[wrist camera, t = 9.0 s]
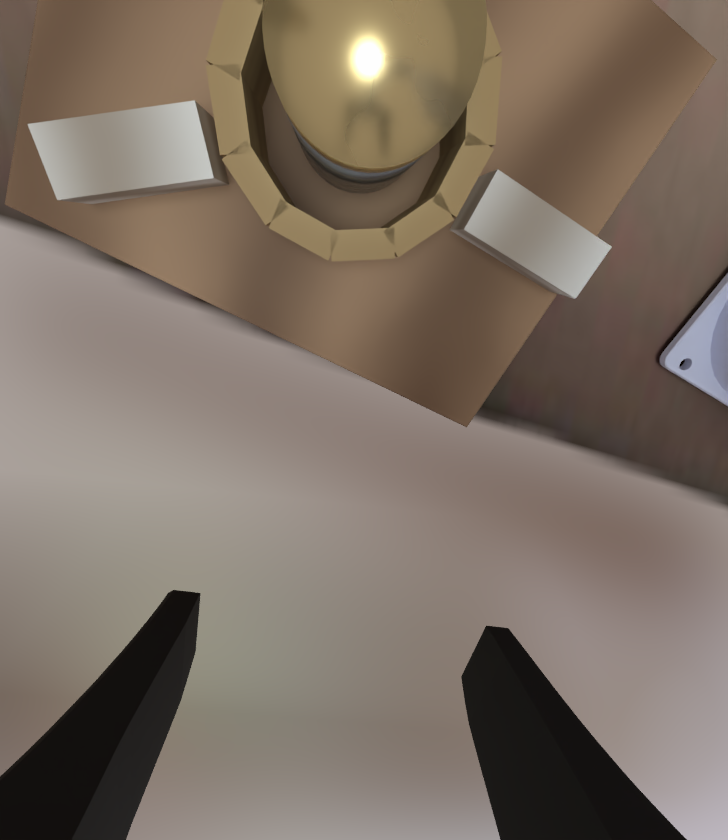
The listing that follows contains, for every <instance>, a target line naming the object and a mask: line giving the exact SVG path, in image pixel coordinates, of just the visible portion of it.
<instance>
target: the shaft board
mask: <svg viewBox="0 0 728 840" xmlns="http://www.w3.org/2000/svg"><path fill="white" fill-rule="evenodd" d="M262 6H263V0H38V3H37V9H36V15H35V21H34V28H33V34H32V40H31V46H30V52H29V58H28V65H27V71H26V77H25V83H24V89H23V95H22V102H21V108H20V114H19V120H18V126H17V132H16V139H15V145H14V151H13V157H12V163H11V169H10V176H9V182H8V188H7V194H6V200H5V205H7V206H9V207H12V208H14V209H16V210H18V211H20V212H22V213H24V214H26V215H28V216H30V217H32V218H34V219H36V220H38V221H41V222H43V223H45V224H47V225H49V226H51V227H53V228H55V229H57V230H59V231H61V232H63V233H65V234H67V235H70V236H72V237H74V238H76V239H78V240H80V241H82V242H84V243H86V244H88V245H90V246H92V247H94V248H96V249H99V250H101V251H103V252H105V253H107V254H109V255H111V256H113V257H115V258H117V259H119V260H121V261H123V262H125V263H128V264H130V265H132V266H134V267H136V268H138V269H140V270H142V271H144V272H146V273H148V274H150V275H152V276H154V277H157V278H159V279H161V280H163V281H165V282H167V283H169V284H171V285H173V286H175V287H177V288H179V289H181V290H183V291H186V292H188V293H190V294H192V295H194V296H196V297H198V298H200V299H202V300H204V301H206V302H208V303H210V304H212V305H215V306H217V307H219V308H221V309H223V310H225V311H227V312H229V313H231V314H233V315H235V316H237V317H239V318H241V319H244V320H246V321H248V322H250V323H252V324H254V325H256V326H258V327H260V328H262V329H264V330H266V331H268V332H270V333H272V334H275V335H277V336H279V337H281V338H283V339H285V340H287V341H289V342H291V343H293V344H295V345H297V346H299V347H301V348H304V349H306V350H308V351H310V352H312V353H314V354H316V355H318V356H320V357H322V358H324V359H326V360H328V361H330V362H333V363H335V364H337V365H339V366H341V367H343V368H345V369H347V370H349V371H351V372H353V373H355V374H357V375H359V376H362V377H364V378H366V379H368V380H370V381H372V382H374V383H376V384H378V385H380V386H382V387H384V388H386V389H389V390H391V391H393V392H395V393H397V394H399V395H401V396H403V397H405V398H407V399H409V400H411V401H413V402H415V403H417V404H420V405H422V406H424V407H426V408H428V409H430V410H432V411H434V412H436V413H438V414H440V415H443V416H444V417H446V418H449V419H451V420H453V421H455V422H457V423H459V424H461V425H463V426H465V427H467V426H468V425H469V423H470V422H471V420H472V419H473V417H474V416H475V414H476V413H477V411H478V410H479V408H480V407H481V405H482V404H483V403H484V401H485V400H486V398H487V397H488V395H489V394H490V392H491V391H492V389H493V388H494V386H495V385H496V383H497V382H498V380H499V379H500V378H501V376H502V375H503V373H504V372H505V370H506V369H507V367H508V366H509V364H510V363H511V361H512V360H513V358H514V357H515V355H516V354H517V353H518V351H519V350H520V348H521V347H522V345H523V344H524V342H525V341H526V339H527V338H528V336H529V335H530V333H531V332H532V331H533V329H534V328H535V326H536V325H537V323H538V322H539V320H540V319H541V317H542V316H543V314H544V313H545V311H546V310H547V308H548V307H549V306H550V304H551V303H552V301H553V300H554V298H555V297H556V295H557V294H560V295H564V296H567V297H571V298H574V299H576V297H577V296H578V294H579V293H580V292H581V290H582V289H583V287H584V286H585V284H586V283H587V282H588V280H589V279H590V277H591V276H592V274H593V273H594V272H595V270H596V269H597V267H598V266H599V264H600V263H601V262H602V260H603V259H604V257H605V256H606V254H607V253H608V252H609V250H610V249H611V246H610V245H608V244H607V243H605V242H604V241H603V240H601V239H600V238H598V237H597V235H598V234H599V232H600V231H601V229H602V228H603V226H604V225H605V223H606V222H607V220H608V219H609V217H610V216H611V214H612V213H613V211H614V210H615V209H616V207H617V206H618V204H619V203H620V201H621V200H622V198H623V197H624V195H625V194H626V192H627V191H628V189H629V188H630V187H631V185H632V184H633V182H634V181H635V179H636V178H637V176H638V175H639V173H640V172H641V170H642V169H643V167H644V166H645V164H646V163H647V162H648V160H649V159H650V157H651V156H652V154H653V153H654V151H655V150H656V148H657V147H658V145H659V144H660V142H661V141H662V139H663V138H664V137H665V135H666V134H667V132H668V131H669V129H670V128H671V126H672V125H673V123H674V122H675V120H676V119H677V117H678V116H679V114H680V113H681V112H682V110H683V109H684V107H685V106H686V104H687V103H688V101H689V100H690V98H691V97H692V95H693V94H694V92H695V91H696V90H697V88H698V87H699V85H700V84H701V82H702V81H703V79H704V78H705V76H706V75H707V73H708V72H709V70H710V69H711V67H712V66H713V65H714V63H715V62H716V60H717V59H716V58H715V57H713V56H712V55H711V54H710V53H709V52H708V51H707V50H706V49H705V48H703V47H702V46H701V45H700V44H699V43H698V42H697V41H696V40H695V39H694V38H692V37H691V36H690V35H689V34H688V33H687V32H686V31H685V30H684V29H682V28H681V27H680V26H679V25H678V24H677V23H676V22H675V21H674V20H673V19H671V18H670V17H669V16H668V15H667V14H666V13H665V12H664V11H663V10H661V9H660V8H659V7H658V6H657V5H656V4H655V3H654V2H653V1H651V0H486V12H487V31H486V44H485V50H484V56H483V62H482V66H481V70H480V73H479V77H478V80H477V83H476V85H475V88H474V90H473V93H472V96H471V98H470V100H469V102H468V103H467V105H466V107H465V109H464V111H463V113H462V114H461V116H460V117H459V119H458V120H457V122H456V123H455V125H454V126H453V127H452V128H451V129H450V130H449V132H448V133H447V134H446V135H445V136H444V137H443V138H442V139H441V140H440V141H439V142H438V143H437V144H435V145H434V146H433V147H432V148H431V149H430V150H429V151H428V152H427V153H426V154H424V155H423V156H422V157H421V158H420V159H419V160H418V161H417V162H416V163H415V164H414V165H412V166H411V167H410V168H409V169H408V170H407V171H406V172H405V173H404V174H403V175H401V176H400V177H399V178H398V179H397V180H396V181H395V182H393V183H392V184H390V185H389V186H387V187H385V188H383V189H381V190H378V191H375V192H371V193H361V194H357V193H350V192H346V191H343V190H340V189H338V188H336V187H334V186H332V185H331V184H329V183H327V182H326V181H325V180H324V179H323V178H321V177H320V176H319V175H318V174H317V172H316V171H315V170H314V169H313V168H312V166H311V165H310V164H309V162H308V160H307V158H306V157H305V155H304V152H303V150H302V148H301V146H300V143H299V141H298V139H297V137H296V134H295V132H294V130H293V128H292V125H291V123H290V121H289V118H288V116H287V114H286V112H285V109H284V107H283V105H282V103H281V100H280V98H279V96H278V93H277V91H276V89H275V86H274V84H273V81H272V78H271V75H270V71H269V68H268V64H267V59H266V55H265V50H264V42H263V32H262Z"/></svg>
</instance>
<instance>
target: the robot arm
mask: <svg viewBox="0 0 728 840" xmlns="http://www.w3.org/2000/svg"><path fill="white" fill-rule="evenodd" d="M684 359H685V362H684V364H683V365H682V366H680V363H681V361H683V360H684ZM660 364H661V365H662V366H663V367H664V368H666V369H667V370H669V371H670V372H672V373H674V374H675V375H677V376H679V377H680V378H682V379H684V380H685V381H687V382H688V383H690V384H692V385H693V386H695V387H697V388H698V389H700V390H702V391H703V392H705V393H706V394H708V395H710V396H711V397H713V398H715V399H716V400H718V401H720V402H721V403H723V404H724V405H726V406H728V273H727V274H726V276H725V277H724V278H723V279H722V280H721V282H720V283H719V284H718V285H717V287H716V288H715V289H714V290H713V291H712V293H711V294H710V295H709V296H708V298H707V299H706V300H705V301H704V302H703V304H702V305H701V306H700V307H699V308H698V310H697V311H696V312H695V313H694V315H693V316H692V317H691V318H690V319H689V321H688V322H687V323H686V324H685V326H684V327H683V328H682V329H681V330H680V332H679V333H678V334H677V335H676V337H675V338H674V339H673V340H672V341H671V343H670V344H669V345H668V346H667V347H666V349H665V350H664V351H663V353H662V354H661V356H660ZM199 603H200V593H195V592H186V591H177V590H173V591H171V592H169V593H168V594H167V596H166V597H165V599H164V600H163V601H162V602H161V604H160V605H159V607H158V608H157V609H156V610H155V612H154V613H153V614H152V616H151V617H150V618H149V619H148V621H147V622H146V623H145V624H144V626H143V627H142V628H141V629H140V631H139V632H138V633H137V634H136V636H135V637H134V638H133V639H132V640H131V641H130V643H129V644H128V645H127V646H126V647H125V648H124V650H123V651H122V652H121V653H120V654H119V655H118V656H117V657H116V659H115V660H114V661H113V662H112V663H111V664H110V665H109V666H108V668H107V669H106V670H105V671H104V672H103V673H102V674H101V676H100V677H99V678H98V679H97V680H96V681H95V682H94V683H93V684H92V685H91V687H90V688H89V689H88V690H87V691H86V692H85V693H84V694H83V695H82V696H81V697H80V698H79V699H78V700H77V701H76V702H75V703H74V704H73V705H72V706H71V707H70V708H69V709H68V710H67V711H66V713H65V714H64V715H63V716H62V717H61V718H60V719H59V720H58V721H57V722H56V723H55V724H54V725H53V726H52V727H51V728H50V729H49V730H48V731H47V732H46V733H45V734H44V735H43V736H42V737H41V738H40V739H39V740H38V741H37V742H36V743H35V744H34V745H33V746H32V747H31V748H30V749H29V750H28V751H27V752H26V753H25V754H24V755H23V756H22V757H21V758H19V760H17V761H16V762H15V763H14V764H13V765H12V766H11V767H10V768H9V769H8V770H7V771H6V772H5V773H4V774H3V775H1V776H0V840H126V838H127V835H128V832H129V829H130V827H131V824H132V822H133V819H134V816H135V814H136V811H137V809H138V807H139V804H140V802H141V799H142V796H143V794H144V792H145V789H146V787H147V784H148V782H149V779H150V777H151V774H152V771H153V769H154V767H155V764H156V761H157V759H158V756H159V754H160V751H161V749H162V747H163V744H164V741H165V739H166V737H167V734H168V731H169V729H170V726H171V724H172V721H173V719H174V716H175V714H176V711H177V709H178V706H179V704H180V701H181V698H182V695H183V691H184V688H185V685H186V682H187V678H188V675H189V672H190V668H191V665H192V661H193V658H194V655H195V650H196V637H197V627H198V614H199ZM462 684H463V691H464V698H465V704H466V710H467V715H468V721H469V725H470V729H471V733H472V737H473V740H474V744H475V748H476V752H477V755H478V759H479V763H480V767H481V770H482V774H483V777H484V781H485V785H486V788H487V792H488V796H489V799H490V803H491V807H492V810H493V814H494V817H495V820H496V825H497V828H498V832H499V836H500V839H501V840H686V839H685V838H684V837H683V836H682V835H681V834H680V832H679V831H678V830H677V829H675V827H674V826H673V825H672V824H671V823H670V822H669V821H668V820H667V819H666V818H665V817H664V816H663V815H662V814H661V812H660V811H658V809H657V808H656V807H655V806H654V805H653V804H652V803H651V802H650V801H649V800H648V799H647V798H646V797H645V795H644V794H643V793H642V792H641V791H640V790H639V789H638V788H637V787H636V786H635V785H634V783H633V782H632V781H631V780H630V779H629V778H628V777H627V776H626V774H625V773H624V772H623V771H622V770H621V769H620V768H619V766H618V765H617V764H616V763H615V762H614V761H613V759H612V758H611V757H610V756H609V755H608V754H607V752H606V751H605V750H604V749H603V748H602V747H601V745H600V744H599V743H598V742H597V741H596V740H595V738H594V737H593V736H592V735H591V733H590V732H589V731H588V730H587V729H586V727H585V726H584V725H583V724H582V723H581V721H580V720H579V719H578V718H577V716H576V715H575V714H574V713H573V711H572V710H571V709H570V707H569V706H568V705H567V704H566V703H565V701H564V700H563V699H562V697H561V696H560V695H559V694H558V692H557V691H556V690H555V688H554V687H553V686H552V685H551V683H550V682H549V681H548V679H547V678H546V677H545V675H544V674H543V673H542V672H541V670H540V669H539V668H538V666H537V665H536V664H535V662H534V661H533V660H532V658H531V657H530V656H529V654H528V653H527V652H526V651H525V649H524V648H523V647H522V645H521V644H520V643H519V642H518V640H517V639H516V638H515V636H514V635H513V634H512V633H511V631H510V630H509V629H508V628H501V627H492V626H486V627H485V629H484V632H483V634H482V636H481V638H480V640H479V642H478V644H477V646H476V648H475V650H474V652H473V654H472V656H471V658H470V660H469V662H468V664H467V666H466V668H465V670H464V673H463V675H462Z"/></svg>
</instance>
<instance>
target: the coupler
mask: <svg viewBox="0 0 728 840" xmlns="http://www.w3.org/2000/svg"><path fill="white" fill-rule="evenodd" d="M486 31H487V12H486V0H263V6H262V32H263V42H264V50H265V55H266V59H267V64H268V68H269V71H270V75H271V78H272V81H273V84H274V86H275V89H276V91H277V93H278V96H279V98H280V100H281V103H282V105H283V107H284V109H285V112H286V114H287V116H288V118H289V121H290V123H291V125H292V128H293V130H294V132H295V134H296V137H297V139H298V141H299V143H300V146H301V148H302V150H303V152H304V155H305V157H306V158H307V160H308V162H309V164H310V165H311V166H312V168H313V169H314V170H315V171H316V172H317V174H318V175H319V176H320V177H321V178H323V179H324V180H325V181H326V182H327V183H329V184H331V185H332V186H334V187H336V188H338V189H340V190H343V191H346V192H350V193H357V194H361V193H371V192H375V191H378V190H381V189H383V188H385V187H387V186H389V185H390V184H392V183H393V182H395V181H396V180H397V179H398V178H399V177H400V176H401V175H403V174H404V173H405V172H406V171H407V170H408V169H409V168H410V167H411V166H412V165H414V164H415V163H416V162H417V161H418V160H419V159H420V158H421V157H422V156H423V155H424V154H426V153H427V152H428V151H429V150H430V149H431V148H432V147H433V146H434V145H435V144H437V143H438V142H439V141H440V140H441V139H442V138H443V137H444V136H445V135H446V134H447V133H448V132H449V130H450V129H451V128H452V127H453V126H454V125H455V123H456V122H457V120H458V119H459V117H460V116H461V114H462V113H463V111H464V109H465V107H466V105H467V103H468V102H469V100H470V98H471V96H472V93H473V90H474V88H475V85H476V83H477V80H478V77H479V73H480V70H481V66H482V62H483V56H484V50H485V44H486Z"/></svg>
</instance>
